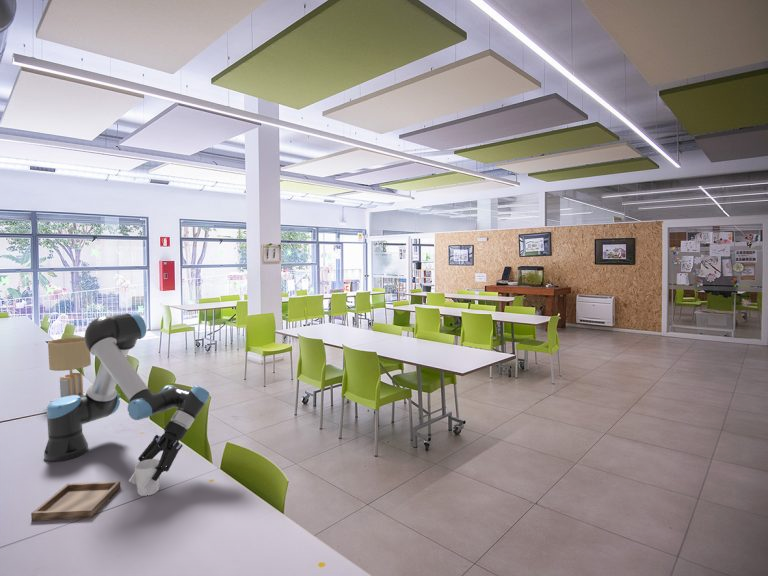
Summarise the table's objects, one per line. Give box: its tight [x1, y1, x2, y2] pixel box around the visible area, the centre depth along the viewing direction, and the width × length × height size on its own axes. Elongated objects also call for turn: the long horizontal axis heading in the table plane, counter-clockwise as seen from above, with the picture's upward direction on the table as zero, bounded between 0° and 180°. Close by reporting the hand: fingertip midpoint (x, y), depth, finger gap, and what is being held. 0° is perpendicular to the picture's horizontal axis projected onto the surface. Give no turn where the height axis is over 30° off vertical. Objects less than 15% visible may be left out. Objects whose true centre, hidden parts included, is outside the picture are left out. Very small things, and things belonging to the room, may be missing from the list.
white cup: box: [134, 458, 161, 497], centre depth 155 cm, size 8×8×10 cm
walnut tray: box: [30, 480, 121, 522], centre depth 147 cm, size 18×18×2 cm
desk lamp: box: [47, 336, 92, 403], centre depth 251 cm, size 20×20×35 cm
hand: (138, 485), depth 152 cm, fingers closed on white cup, 8 cm apart
